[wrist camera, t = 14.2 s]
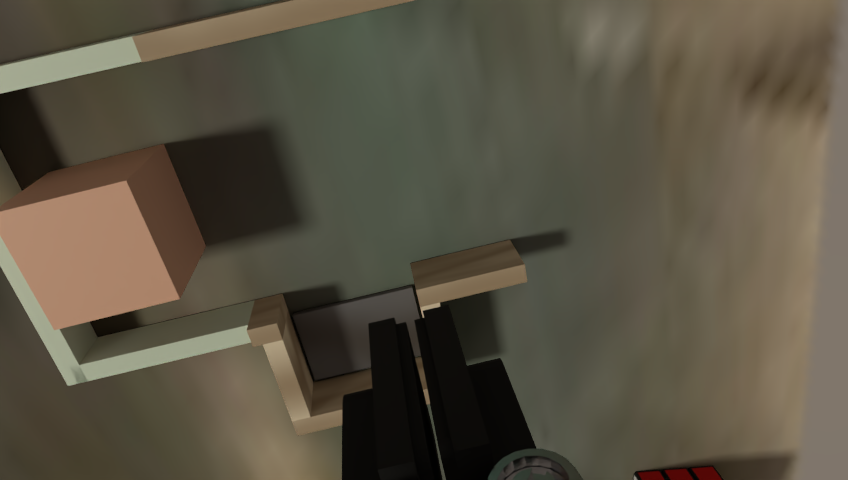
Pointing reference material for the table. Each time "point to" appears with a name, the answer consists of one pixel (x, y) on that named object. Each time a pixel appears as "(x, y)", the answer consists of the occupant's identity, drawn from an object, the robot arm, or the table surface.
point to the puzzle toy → (680, 474)
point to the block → (104, 237)
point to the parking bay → (348, 320)
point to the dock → (79, 344)
